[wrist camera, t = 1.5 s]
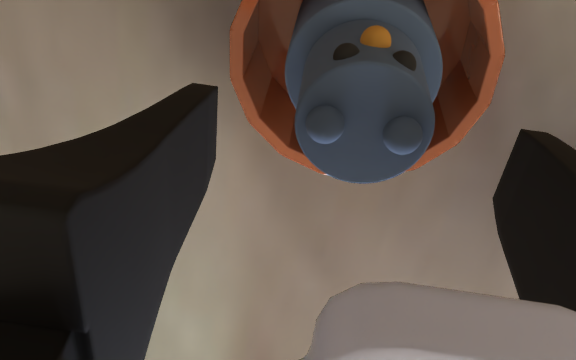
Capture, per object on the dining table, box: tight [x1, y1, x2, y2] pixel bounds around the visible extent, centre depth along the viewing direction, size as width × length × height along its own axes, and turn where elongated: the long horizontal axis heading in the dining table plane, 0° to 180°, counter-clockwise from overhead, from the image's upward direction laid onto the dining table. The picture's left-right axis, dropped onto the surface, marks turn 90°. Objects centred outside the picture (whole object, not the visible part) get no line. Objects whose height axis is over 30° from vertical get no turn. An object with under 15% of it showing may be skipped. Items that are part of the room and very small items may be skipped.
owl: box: [285, 0, 443, 184], centre depth 17 cm, size 5×5×8 cm
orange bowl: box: [230, 0, 505, 175], centre depth 19 cm, size 8×8×4 cm
